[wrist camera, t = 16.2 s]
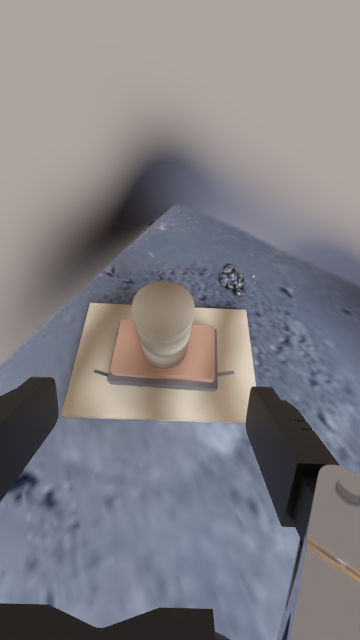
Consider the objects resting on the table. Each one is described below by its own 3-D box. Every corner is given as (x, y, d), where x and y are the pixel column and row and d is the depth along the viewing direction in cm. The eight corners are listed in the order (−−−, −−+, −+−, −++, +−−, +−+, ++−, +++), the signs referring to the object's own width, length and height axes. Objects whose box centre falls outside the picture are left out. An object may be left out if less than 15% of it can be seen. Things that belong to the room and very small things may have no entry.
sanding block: (214, 335, 25) (238, 275, 16) (214, 391, 22) (244, 356, 13) (122, 328, 25) (96, 264, 16) (110, 384, 22) (71, 343, 13)
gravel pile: (242, 259, 34) (245, 248, 32) (273, 298, 30) (278, 288, 28) (200, 271, 32) (201, 261, 31) (227, 314, 28) (230, 305, 27)
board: (242, 316, 28) (246, 309, 27) (255, 423, 22) (260, 422, 21) (94, 309, 28) (90, 302, 26) (67, 417, 22) (60, 415, 20)
